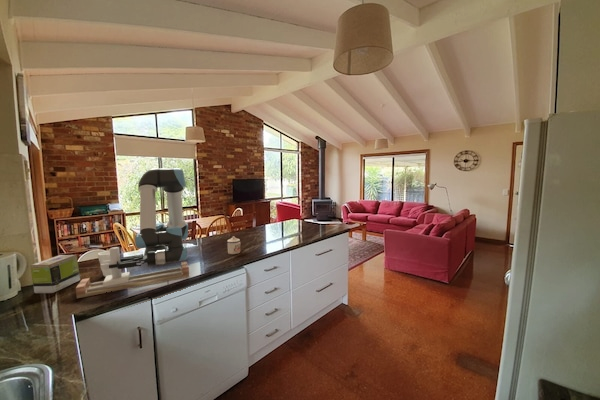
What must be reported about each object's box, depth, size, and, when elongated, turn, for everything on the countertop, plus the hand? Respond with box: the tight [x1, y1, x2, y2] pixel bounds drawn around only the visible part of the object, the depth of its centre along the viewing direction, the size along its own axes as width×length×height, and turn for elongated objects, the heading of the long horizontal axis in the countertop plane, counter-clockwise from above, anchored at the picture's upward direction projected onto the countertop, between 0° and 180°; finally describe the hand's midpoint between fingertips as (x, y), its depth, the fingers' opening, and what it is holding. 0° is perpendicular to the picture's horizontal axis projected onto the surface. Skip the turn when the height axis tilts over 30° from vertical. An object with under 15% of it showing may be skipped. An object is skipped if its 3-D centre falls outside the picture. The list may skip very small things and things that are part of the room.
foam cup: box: [97, 250, 112, 278], centre depth 145 cm, size 10×9×13 cm
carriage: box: [103, 246, 131, 287], centre depth 129 cm, size 10×10×17 cm
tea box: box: [29, 254, 81, 294], centre depth 130 cm, size 15×10×15 cm, turn 178°
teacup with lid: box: [226, 236, 242, 255], centre depth 183 cm, size 12×9×12 cm
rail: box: [75, 260, 190, 299], centre depth 134 cm, size 12×48×5 cm, turn 119°
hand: (102, 265), depth 126 cm, fingers open, 5 cm apart
